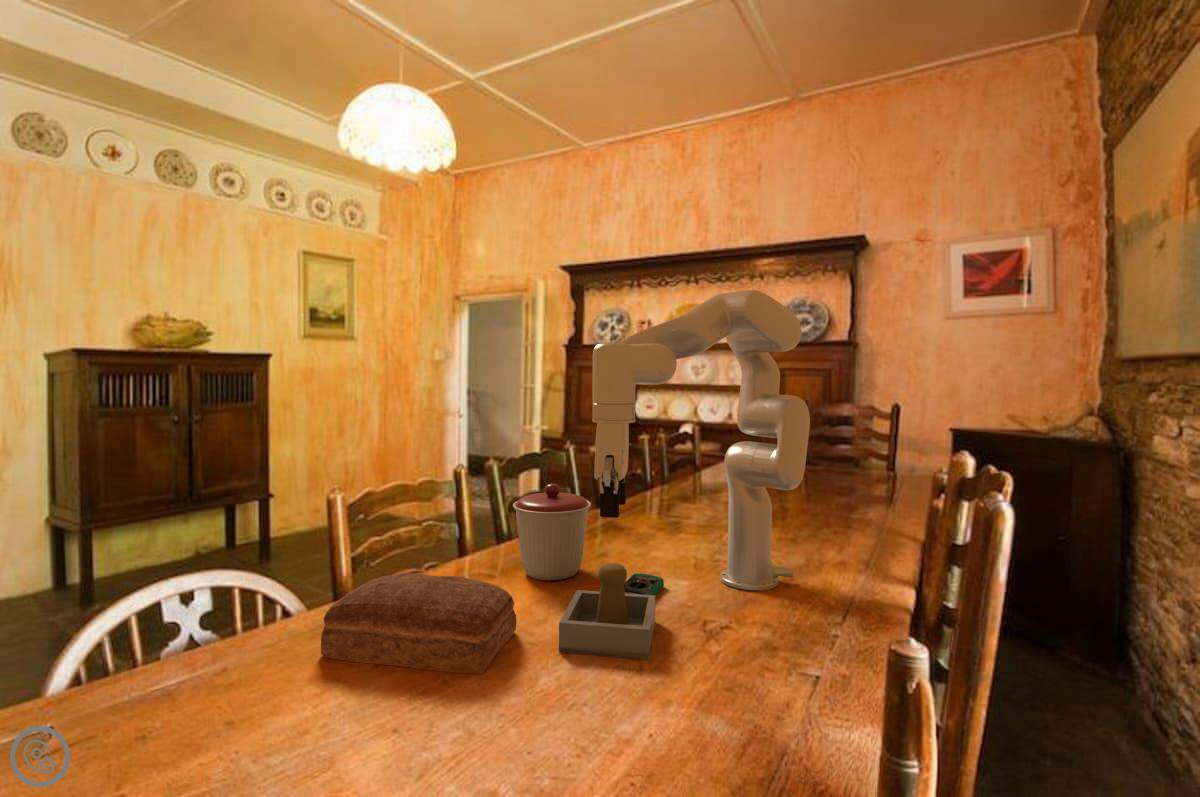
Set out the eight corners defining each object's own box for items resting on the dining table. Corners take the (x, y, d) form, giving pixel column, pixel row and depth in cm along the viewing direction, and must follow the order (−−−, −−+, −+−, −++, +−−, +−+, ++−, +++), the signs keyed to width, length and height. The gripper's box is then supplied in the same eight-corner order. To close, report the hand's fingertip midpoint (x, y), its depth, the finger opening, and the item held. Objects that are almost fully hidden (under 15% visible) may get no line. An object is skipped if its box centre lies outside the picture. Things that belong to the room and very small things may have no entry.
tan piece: (594, 618, 107) (595, 559, 107) (627, 618, 108) (627, 559, 107) (595, 632, 101) (596, 570, 101) (630, 632, 101) (630, 570, 101)
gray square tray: (654, 621, 108) (655, 595, 108) (649, 660, 94) (649, 629, 93) (576, 615, 111) (576, 590, 111) (558, 652, 96) (559, 622, 96)
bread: (373, 618, 110) (372, 558, 109) (521, 632, 104) (521, 570, 104) (312, 661, 93) (311, 591, 92) (485, 681, 87) (485, 606, 87)
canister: (573, 591, 123) (574, 493, 122) (498, 581, 129) (498, 488, 128) (600, 566, 140) (601, 479, 140) (533, 557, 146) (533, 475, 145)
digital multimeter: (665, 588, 127) (665, 575, 127) (642, 613, 113) (642, 598, 113) (633, 583, 130) (633, 570, 130) (608, 607, 116) (608, 592, 116)
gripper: (600, 410, 110) (600, 499, 111) (583, 416, 93) (583, 521, 94) (639, 411, 109) (639, 500, 110) (629, 417, 92) (629, 523, 93)
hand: (613, 510), depth 102 cm, fingers open, 9 cm apart
